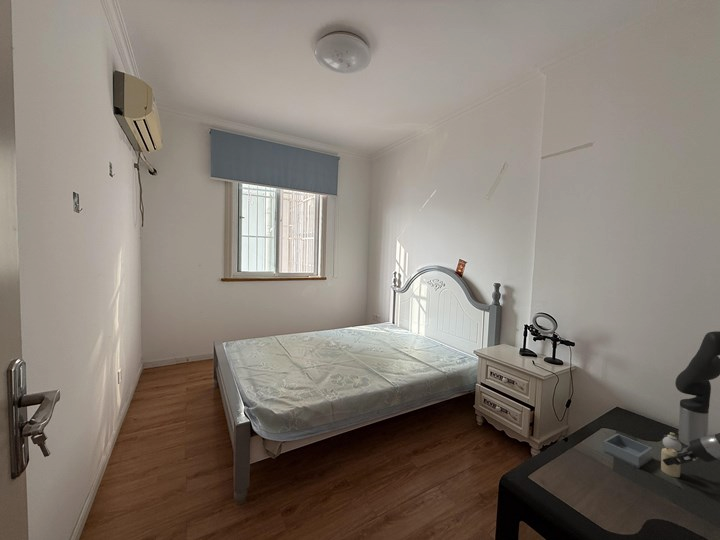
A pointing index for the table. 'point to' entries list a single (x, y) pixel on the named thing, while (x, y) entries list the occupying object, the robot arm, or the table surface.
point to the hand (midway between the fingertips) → (669, 459)
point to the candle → (671, 469)
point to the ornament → (672, 442)
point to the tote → (627, 450)
